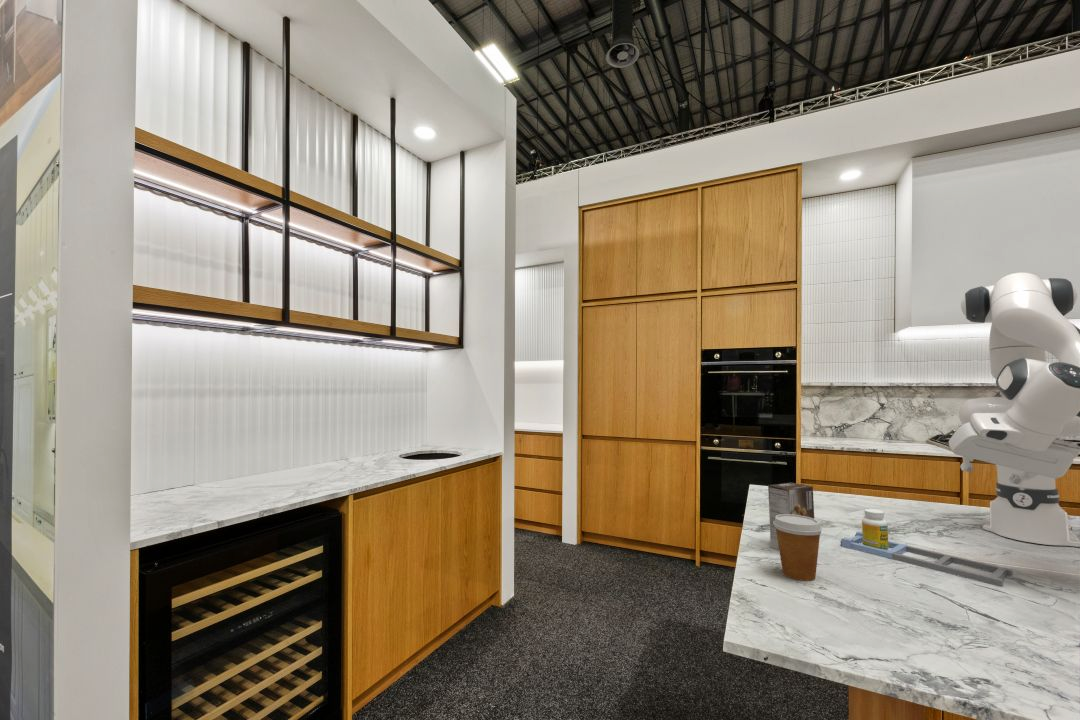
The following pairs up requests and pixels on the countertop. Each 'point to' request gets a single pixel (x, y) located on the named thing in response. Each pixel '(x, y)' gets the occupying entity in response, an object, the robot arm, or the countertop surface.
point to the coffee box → (788, 504)
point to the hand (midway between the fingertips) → (988, 475)
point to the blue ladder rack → (938, 565)
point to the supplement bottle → (875, 529)
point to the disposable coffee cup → (798, 545)
